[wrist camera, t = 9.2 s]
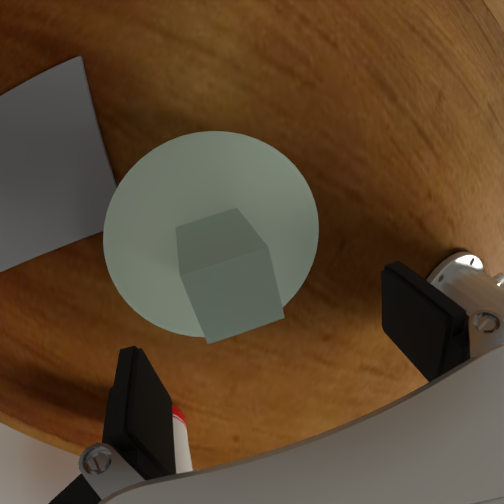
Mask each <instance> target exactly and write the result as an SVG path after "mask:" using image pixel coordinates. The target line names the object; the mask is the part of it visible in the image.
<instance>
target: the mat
mask: <svg viewBox="0 0 504 504" xmlns="http://www.w3.org/2000/svg"><path fill="white" fill-rule="evenodd" d="M116 189H117V184H116V181H115V178H114V175H113V172H112V169H111V166H110V163H109V159H108V156H107V153H106V149H105V146H104V143H103V139H102V136H101V132H100V129H99V125H98V122H97V118H96V114H95V110H94V106H93V103H92V99H91V95H90V90H89V86H88V82H87V78H86V73H85V69H84V64H83V60H82V57H81V56H78V57H75V58H73V59H71V60H68V61H66V62H64V63H62V64H60V65H57V66H55V67H53V68H51V69H49V70H47V71H45V72H43V73H41V74H39V75H37V76H35V77H33V78H31V79H30V80H28V81H26V82H24V83H22V84H20V85H19V86H17V87H15V88H13V89H12V90H10V91H8V92H6V93H5V94H3V95H1V96H0V272H2V271H4V270H7V269H9V268H11V267H13V266H16V265H18V264H20V263H23V262H25V261H28V260H30V259H32V258H35V257H37V256H40V255H42V254H45V253H47V252H50V251H52V250H55V249H57V248H60V247H62V246H65V245H67V244H70V243H72V242H75V241H78V240H80V239H83V238H86V237H88V236H91V235H94V234H96V233H99V232H102V231H104V223H105V218H106V213H107V210H108V207H109V204H110V202H111V199H112V197H113V195H114V193H115V191H116Z"/></svg>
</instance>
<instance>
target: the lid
mask: <svg viewBox="0 0 504 504" xmlns="http://www.w3.org/2000/svg"><path fill="white" fill-rule="evenodd" d="M318 237H319V222H318V213H317V209H316V204H315V200H314V198H313V195H312V193H311V190H310V188H309V186H308V184H307V182H306V181H305V179H304V177H303V176H302V174H301V173H300V172H299V170H298V169H297V168H296V166H295V165H294V164H293V163H292V162H291V161H290V160H289V159H288V158H287V157H286V156H285V155H283V154H282V153H280V152H279V151H278V150H276V149H275V148H274V147H272V146H270V145H268V144H266V143H264V142H262V141H260V140H258V139H255V138H252V137H250V136H247V135H243V134H238V133H233V132H224V131H205V132H196V133H191V134H187V135H183V136H180V137H177V138H175V139H172V140H169V141H167V142H165V143H163V144H162V145H160V146H158V147H156V148H154V149H153V150H152V151H150V152H149V153H148V154H146V155H145V156H144V157H142V158H141V159H140V160H139V161H138V162H137V163H136V164H135V165H134V166H133V167H132V168H131V169H130V170H129V171H128V173H127V174H126V175H125V177H124V178H123V180H122V181H121V182H120V184H119V185H118V187H117V189H116V191H115V193H114V195H113V197H112V199H111V202H110V204H109V207H108V210H107V213H106V218H105V223H104V232H103V247H104V256H105V260H106V265H107V268H108V271H109V274H110V276H111V279H112V281H113V283H114V285H115V286H116V288H117V290H118V292H119V293H120V294H121V296H122V297H123V298H124V300H125V301H126V302H127V303H128V304H129V305H130V306H131V307H132V308H133V309H134V310H135V311H136V312H137V313H138V314H139V315H141V316H142V317H143V318H145V319H146V320H148V321H149V322H151V323H153V324H154V325H156V326H158V327H160V328H163V329H165V330H167V331H170V332H174V333H177V334H181V335H186V336H192V337H205V338H206V341H207V343H208V344H210V343H214V342H217V341H220V340H223V339H226V338H229V337H232V336H235V335H238V334H241V333H244V332H246V331H249V330H252V329H255V328H258V327H261V326H264V325H266V324H269V323H272V322H275V321H277V320H280V319H283V318H285V317H284V312H283V307H284V306H285V305H286V304H287V303H288V302H289V301H290V300H291V299H292V298H293V296H294V295H295V294H296V293H297V291H298V290H299V289H300V287H301V286H302V284H303V282H304V281H305V279H306V277H307V275H308V273H309V271H310V269H311V266H312V264H313V261H314V258H315V254H316V251H317V244H318Z"/></svg>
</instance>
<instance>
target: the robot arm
mask: <svg viewBox="0 0 504 504" xmlns="http://www.w3.org/2000/svg"><path fill="white" fill-rule="evenodd" d="M381 280H382V327H383V330H384V332H385V333H386V334H387V335H388V337H389V338H390V339H391V340H392V341H393V342H394V343H395V344H396V345H397V346H398V348H399V349H400V350H401V351H402V352H403V353H404V354H405V355H406V356H407V358H408V359H409V360H410V361H411V362H412V363H413V364H414V365H415V367H416V368H417V369H418V370H419V371H420V372H421V373H422V375H423V376H424V377H425V378H426V379H427V380H428V381H429V383H427V384H425V385H424V386H422V387H420V388H418V389H416V390H415V391H413V392H411V393H409V394H407V395H405V396H403V397H401V398H399V399H397V400H395V401H393V402H391V403H389V404H387V405H385V406H383V407H381V408H379V409H377V410H375V411H373V412H370V413H368V414H366V415H364V416H362V417H359V418H357V419H355V420H353V421H350V422H348V423H346V424H343V425H341V426H338V427H336V428H333V429H331V430H328V431H326V432H323V433H321V434H318V435H315V436H313V437H310V438H307V439H304V440H302V441H299V442H296V443H293V444H290V445H287V446H284V447H281V448H278V449H275V450H271V451H268V452H265V453H261V454H258V455H255V456H251V457H247V458H244V459H240V460H236V461H232V462H228V463H224V464H220V465H216V466H211V467H207V468H203V469H198V470H193V471H189V472H183V473H178V474H176V462H175V449H174V433H173V413H172V401H171V398H170V396H169V394H168V392H167V391H166V389H165V387H164V386H163V384H162V382H161V381H160V379H159V377H158V376H157V374H156V372H155V371H154V369H153V367H152V365H151V364H150V362H149V360H148V358H147V357H146V355H145V353H144V351H143V350H142V349H141V348H140V349H138V348H137V347H136V346H132V347H128V348H124V349H121V350H120V353H119V358H118V364H117V369H116V375H115V380H114V386H113V387H112V388H111V389H110V392H109V397H108V403H107V410H106V416H105V423H104V430H103V438H102V443H96V444H92V445H91V446H89V447H87V448H86V449H85V450H84V451H83V452H82V454H81V456H80V459H79V469H80V471H81V474H80V475H79V476H78V477H77V478H76V479H75V480H74V481H73V482H71V483H70V484H69V485H68V486H67V487H66V488H65V489H64V490H63V491H62V492H61V493H59V494H58V495H57V496H56V497H55V498H54V499H53V500H52V501H51V502H50V503H49V504H504V284H502V283H503V282H504V274H503V273H498V274H497V275H496V276H494V277H493V278H492V277H491V276H489V275H487V274H486V273H484V269H483V265H482V262H481V261H480V259H479V258H478V257H477V256H475V255H473V254H472V253H470V252H464V251H462V252H458V253H455V254H453V255H451V256H449V257H448V258H447V259H445V260H444V261H443V262H441V263H440V264H439V265H438V266H437V267H436V268H435V269H434V271H433V272H432V273H431V274H430V275H429V277H428V278H427V280H425V279H424V278H422V277H421V276H419V275H418V274H417V273H415V272H414V271H413V270H411V269H410V268H408V267H407V266H405V265H404V264H403V263H401V262H400V261H396V262H393V263H391V264H388V265H386V266H385V267H384V270H383V271H382V273H381Z"/></svg>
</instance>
